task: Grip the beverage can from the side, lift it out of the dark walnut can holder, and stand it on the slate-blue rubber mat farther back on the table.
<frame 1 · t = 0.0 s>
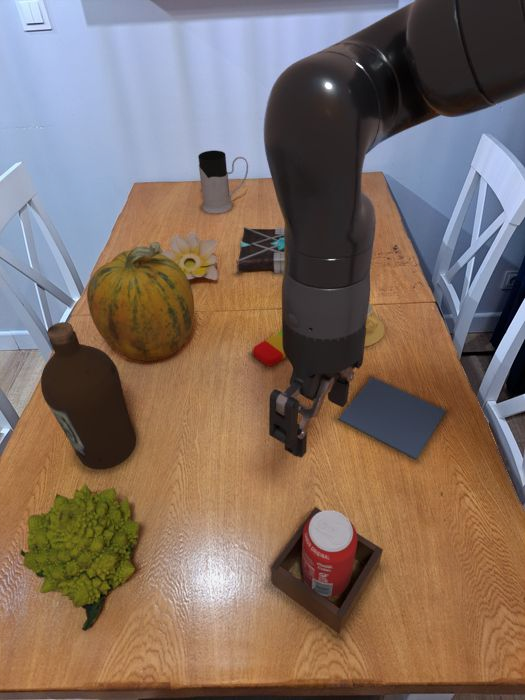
hand: (317, 425, 54), 22 cm above the table, tool pointing down, fingers open, 8 cm apart
decorative flower: (189, 277, 117), on the table
can holder: (325, 575, 64), on the table
beverage can: (325, 576, 64), resting in can holder
cup: (309, 303, 108), on the table
glass holder: (226, 206, 145), on the table
mat: (392, 415, 83), on the table
cup 2: (354, 329, 100), on the table
popsicle: (288, 345, 98), on the table
olive oil: (107, 446, 81), on the table
pumpkin: (153, 346, 99), on the table
book: (283, 256, 123), on the table
vegetable: (97, 560, 66), on the table
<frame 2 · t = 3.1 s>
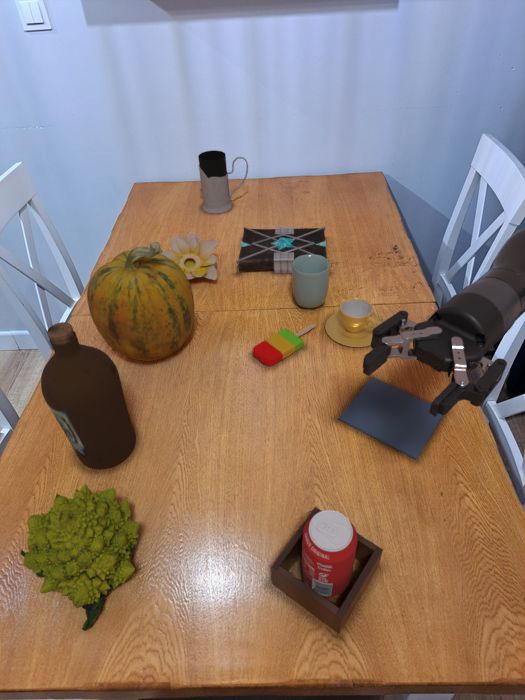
hand: (397, 388, 52), 26 cm above the table, tool horizontal, fingers open, 8 cm apart
nothing on the table moved.
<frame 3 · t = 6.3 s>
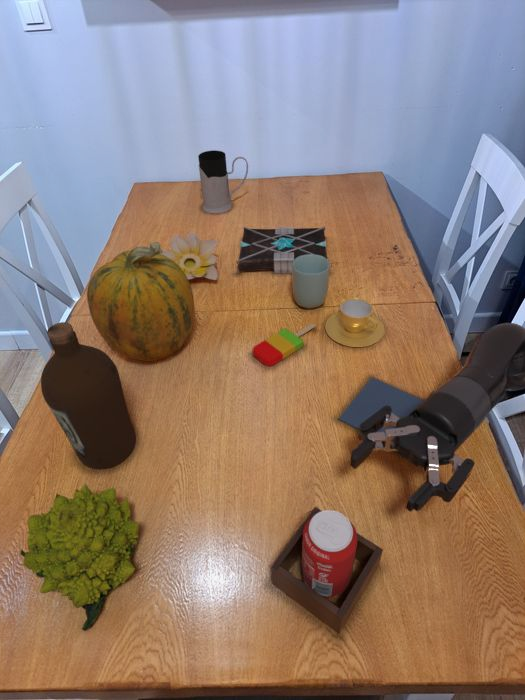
hand: (379, 484, 61), 11 cm above the table, tool horizontal, fingers open, 8 cm apart
nothing on the table moved.
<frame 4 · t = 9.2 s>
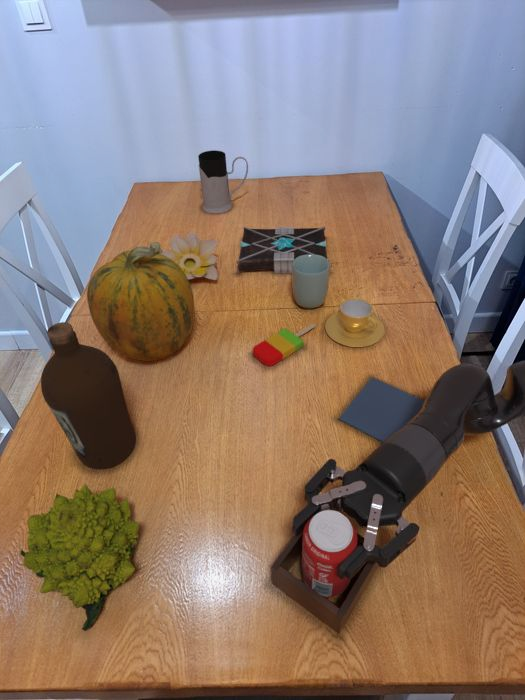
hand: (316, 551, 56), 10 cm above the table, tool horizontal, fingers closed on beverage can, 6 cm apart
beverage can: (325, 576, 64), resting in can holder, touching gripper
everything else where it was.
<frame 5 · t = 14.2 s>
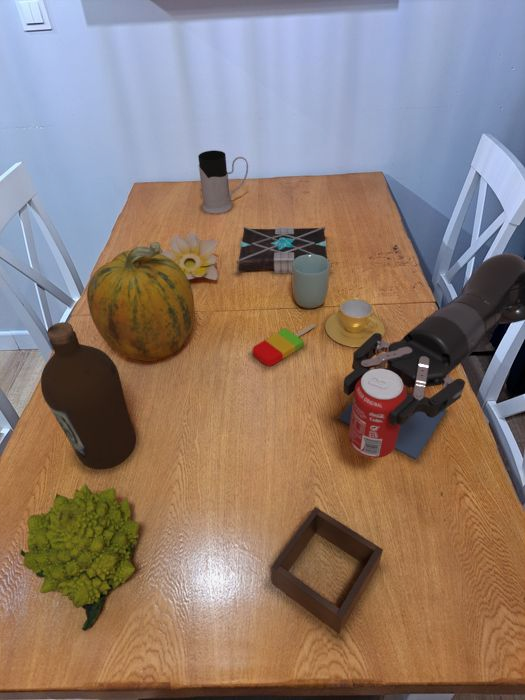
hand: (368, 403, 59), 20 cm above the table, tool horizontal, fingers closed on beverage can, 6 cm apart
beverage can: (371, 444, 67), point 9 cm above the table, touching gripper
everything else where it was.
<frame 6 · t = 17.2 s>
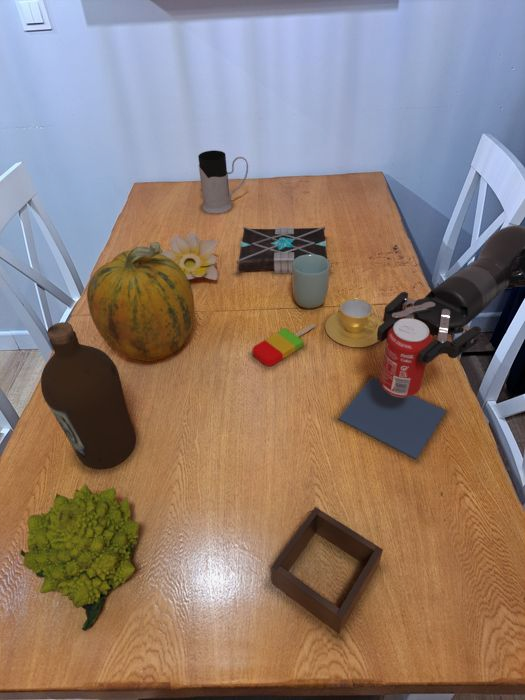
hand: (399, 347, 70), 17 cm above the table, tool horizontal, fingers closed on beverage can, 6 cm apart
beverage can: (399, 387, 78), point 7 cm above the table, touching gripper
everything else where it was.
when the fingers open (10 cm above the table, at t = 19.6 s): beverage can stays where it is, resting on mat.
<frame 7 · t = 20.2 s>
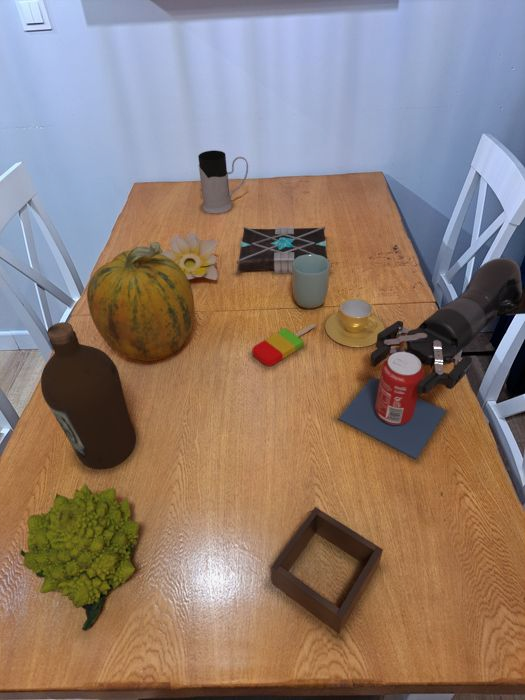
hand: (394, 375, 75), 11 cm above the table, tool horizontal, fingers open, 8 cm apart
beverage can: (393, 414, 83), resting on mat
everything else where it was.
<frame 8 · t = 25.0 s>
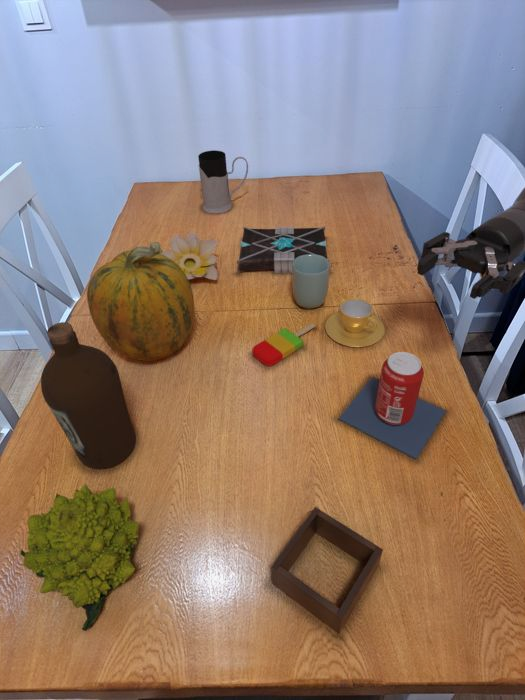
hand: (445, 280, 70), 24 cm above the table, tool horizontal, fingers open, 8 cm apart
nothing on the table moved.
at the end: beverage can inside the target area on the mat (0.1 cm from its centre), point 0.2 cm above the mat's base; beverage can tilted 0°; beverage can touching mat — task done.
